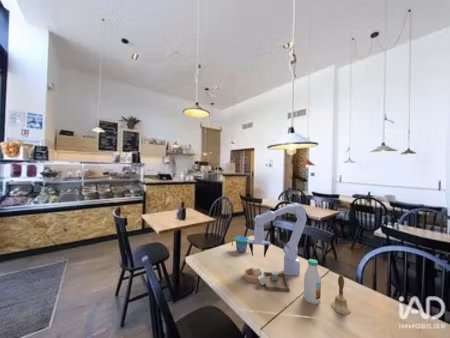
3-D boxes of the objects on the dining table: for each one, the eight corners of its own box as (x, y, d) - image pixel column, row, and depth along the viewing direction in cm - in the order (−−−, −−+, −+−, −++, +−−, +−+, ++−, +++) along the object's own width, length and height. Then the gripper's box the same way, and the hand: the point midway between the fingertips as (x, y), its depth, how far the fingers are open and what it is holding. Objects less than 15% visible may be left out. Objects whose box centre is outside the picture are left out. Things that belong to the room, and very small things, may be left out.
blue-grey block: (277, 277, 121) (277, 271, 121) (277, 280, 117) (278, 274, 117) (271, 276, 121) (271, 270, 121) (271, 279, 118) (272, 274, 118)
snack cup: (252, 249, 161) (252, 237, 161) (250, 255, 151) (250, 241, 151) (233, 247, 166) (233, 235, 166) (230, 252, 156) (230, 239, 155)
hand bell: (349, 317, 90) (350, 282, 90) (328, 308, 96) (329, 275, 95) (352, 307, 96) (353, 274, 96) (333, 300, 102) (334, 268, 102)
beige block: (261, 274, 120) (258, 274, 123) (259, 268, 121) (256, 268, 124) (256, 276, 118) (253, 276, 121) (254, 269, 120) (251, 269, 123)
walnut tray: (284, 276, 122) (284, 273, 122) (289, 292, 107) (289, 288, 107) (263, 275, 124) (263, 271, 124) (265, 290, 108) (265, 286, 108)
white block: (262, 273, 115) (264, 276, 111) (265, 279, 115) (267, 282, 111) (257, 276, 115) (258, 279, 111) (260, 282, 114) (262, 285, 111)
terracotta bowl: (261, 274, 124) (262, 268, 124) (263, 284, 114) (263, 278, 114) (244, 273, 126) (245, 267, 126) (244, 282, 115) (244, 276, 115)
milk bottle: (310, 306, 97) (311, 265, 97) (300, 296, 104) (301, 258, 104) (323, 303, 99) (325, 263, 99) (313, 294, 106) (314, 256, 106)
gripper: (269, 233, 131) (269, 253, 131) (247, 231, 133) (247, 252, 133) (271, 237, 124) (270, 258, 124) (247, 235, 126) (246, 256, 126)
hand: (258, 255), depth 128 cm, fingers open, 7 cm apart
